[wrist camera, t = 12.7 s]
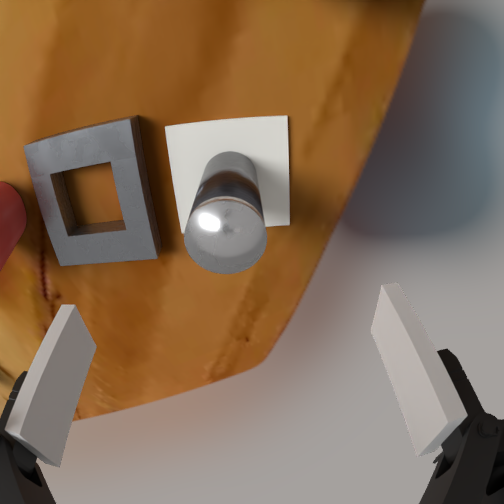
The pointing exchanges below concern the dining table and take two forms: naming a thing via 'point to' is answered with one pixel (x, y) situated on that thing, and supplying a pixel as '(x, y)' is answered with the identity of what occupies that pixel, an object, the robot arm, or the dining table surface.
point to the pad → (237, 140)
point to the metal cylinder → (227, 216)
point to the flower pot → (10, 220)
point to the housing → (127, 184)
